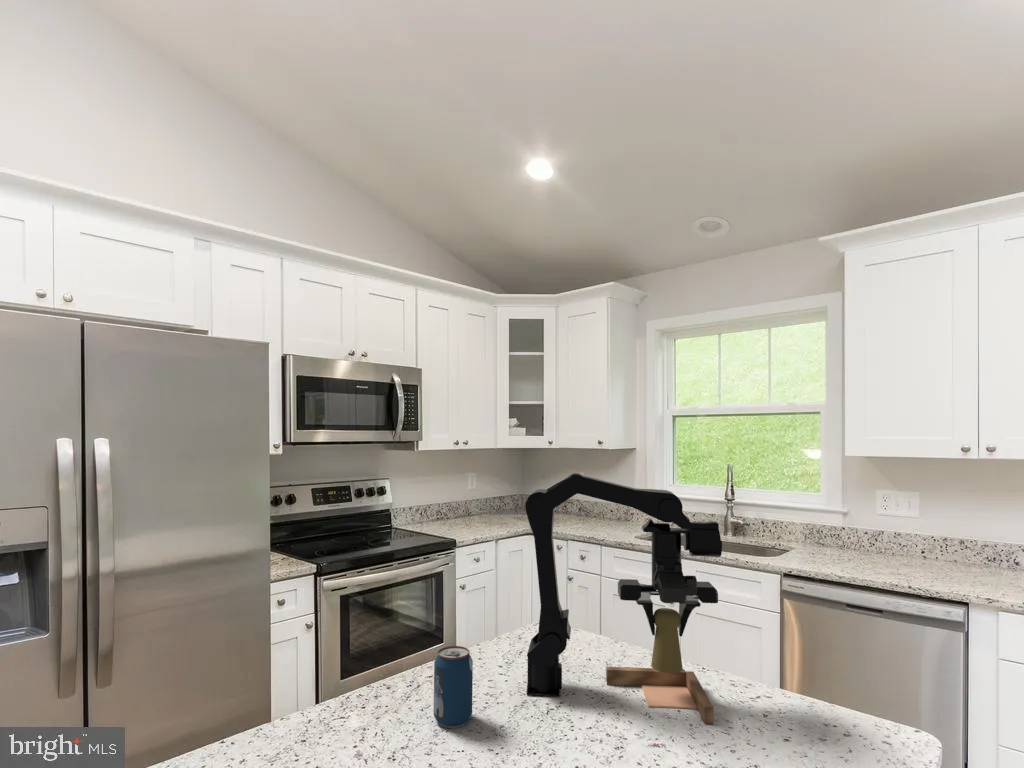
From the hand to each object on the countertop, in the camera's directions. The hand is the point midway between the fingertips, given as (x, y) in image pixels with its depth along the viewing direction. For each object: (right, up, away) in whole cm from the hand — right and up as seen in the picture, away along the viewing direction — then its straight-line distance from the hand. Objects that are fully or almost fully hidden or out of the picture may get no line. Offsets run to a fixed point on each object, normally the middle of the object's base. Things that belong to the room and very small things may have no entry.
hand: (666, 635), depth 118 cm
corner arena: (-4, -12, -2) cm, 12 cm away
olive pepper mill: (0, -6, 0) cm, 6 cm away
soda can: (-41, -11, -10) cm, 44 cm away
